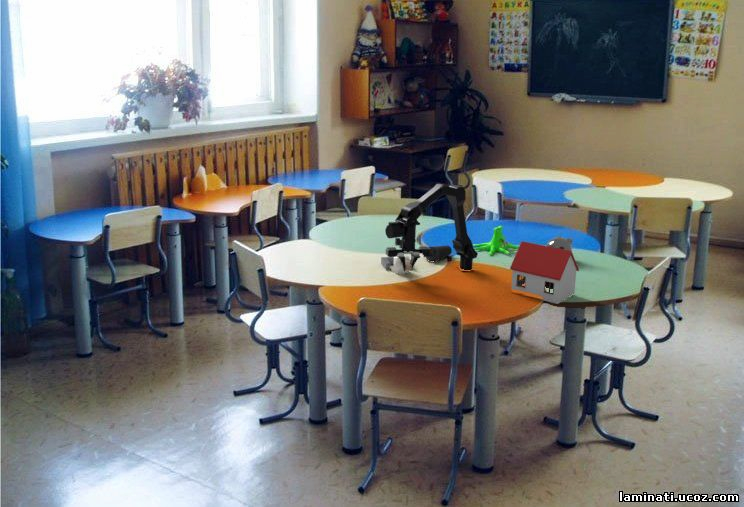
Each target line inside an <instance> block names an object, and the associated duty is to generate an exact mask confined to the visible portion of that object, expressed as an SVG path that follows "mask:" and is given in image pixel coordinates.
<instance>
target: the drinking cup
mask: <svg viewBox="0 0 744 507" xmlns="http://www.w3.org/2000/svg"><path fill="white" fill-rule="evenodd" d="M427 247H428V248H429V249H430V250H431V255H430V256H424V255H422V256H423V258H425V259H426V260H427V261H428V260H429V261H428V262H430V261H434V262H433V263H436V262H438V261H440V260H441V259H443V258H446V257H448V256H450V255H451V254H452V253H453V250H452V247H451V246H450V245H447V244H446V245H438V246H437V245H436V246H433V245H431V246H427Z"/></svg>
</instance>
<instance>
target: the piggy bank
mask: <svg viewBox="0 0 744 507" xmlns="http://www.w3.org/2000/svg"><path fill="white" fill-rule="evenodd" d="M573 243H574V240H573V238H572V237H568V238H565V237H562V236H561V235H557V236H556V237H554V238H551V239H550V240H549V241H548V242H547V244H546V246H549V247H554V248H560V247H564V250H569V251H572V252H573V247H572V244H573Z"/></svg>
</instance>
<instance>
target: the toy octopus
mask: <svg viewBox="0 0 744 507" xmlns="http://www.w3.org/2000/svg"><path fill="white" fill-rule="evenodd" d="M503 229H504V227H503V225H499V226H496V227H494V228H493V236H492V238H491V240H490V241H489V242H482V243H478V244H477V243H474V244H473V243H472V245H473V247H475V248H474V250H475V251H488V253H489V254H488V256H489V257H490V256H493V255H494V253H496V252H498V253H504V254H506V255H509V254H510V251H508V250H510V249H512V250H518V248H519V246H520V245H514V244H512V243H511V242H507V241H506V236H505V235H504V234H503V232H502V231H503Z"/></svg>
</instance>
